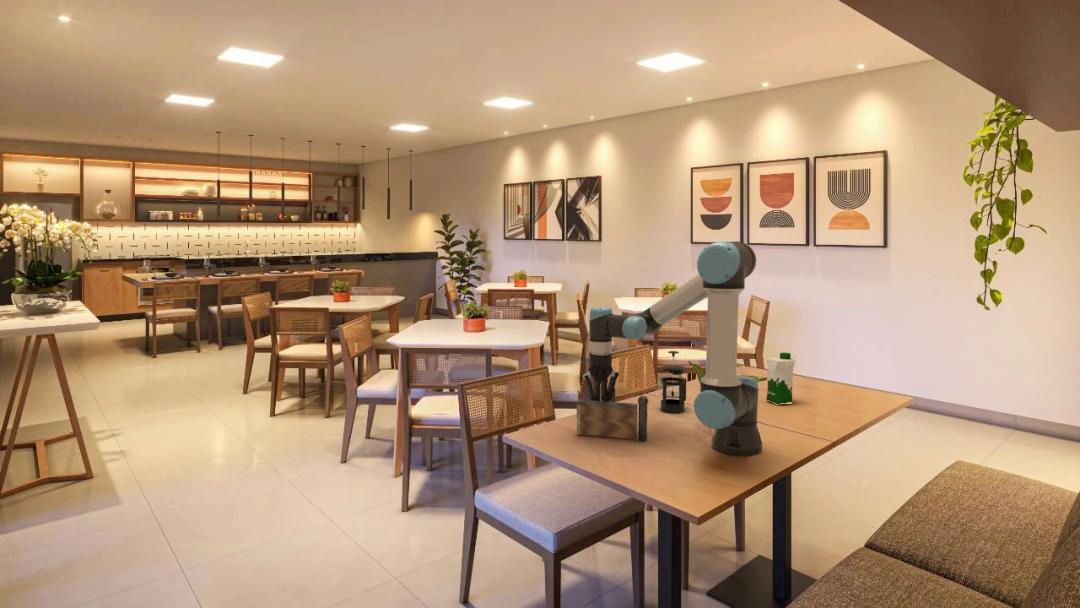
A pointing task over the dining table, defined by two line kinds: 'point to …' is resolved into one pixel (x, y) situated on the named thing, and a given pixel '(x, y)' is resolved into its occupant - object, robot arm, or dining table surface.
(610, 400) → the latch post
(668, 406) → the french press
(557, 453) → the dining table surface
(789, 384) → the milk carton
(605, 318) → the robot arm
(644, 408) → the gate post
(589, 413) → the gate
